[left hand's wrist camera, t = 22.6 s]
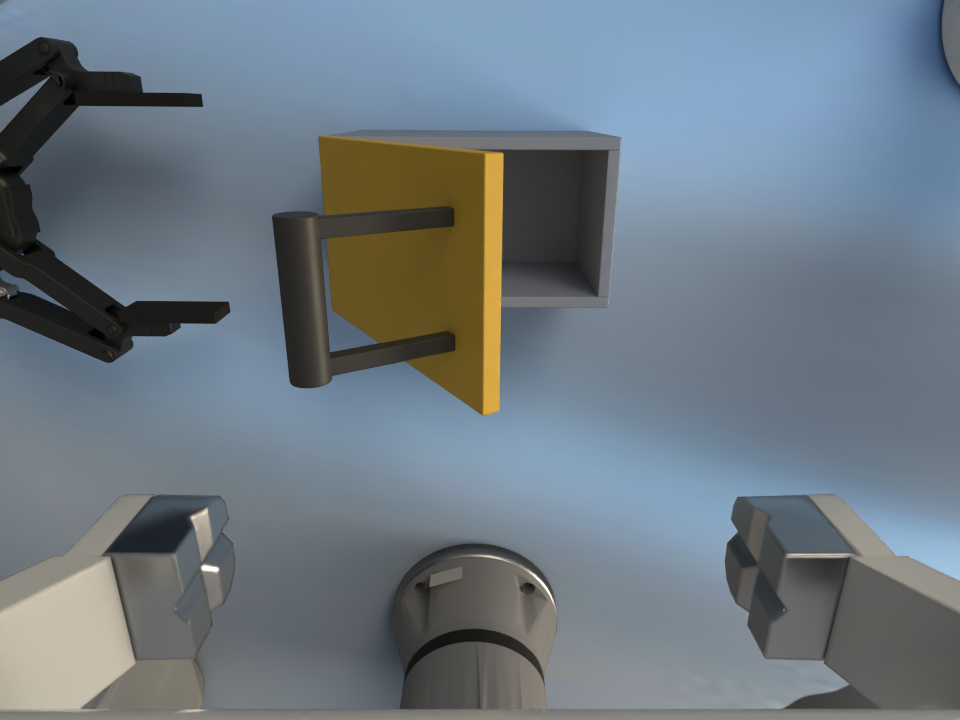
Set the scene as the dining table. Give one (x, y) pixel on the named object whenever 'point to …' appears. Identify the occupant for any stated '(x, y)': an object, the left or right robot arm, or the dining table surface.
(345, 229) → the lid
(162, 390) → the dining table surface
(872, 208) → the dining table surface
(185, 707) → the vase
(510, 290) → the chest
